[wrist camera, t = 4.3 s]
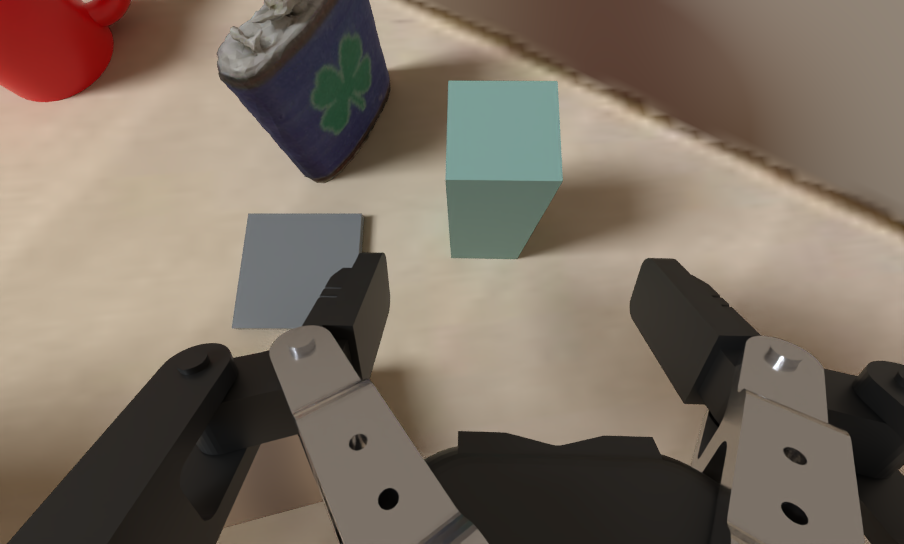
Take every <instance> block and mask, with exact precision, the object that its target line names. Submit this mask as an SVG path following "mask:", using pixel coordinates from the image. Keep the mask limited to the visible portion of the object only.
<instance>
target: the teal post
mask: <svg viewBox="0 0 904 544" xmlns="http://www.w3.org/2000/svg"><path fill="white" fill-rule="evenodd" d="M562 181H563V177H562V158H561V139H560V120H559V102H558V83H557V81H448V111H447V147H446V192H447V206H448V220H449V234H450V247H451V258H485V259H517V258H518V256H519V255H520V253H521V251H522V250H523V248H524V246H525V245H526V243H527V241H528V239H529V238H530V236H531V234H532V233H533V231H534V229H535V227H536V226H537V224H538V222H539V221H540V219H541V217H542V216H543V214H544V212H545V210H546V209H547V207H548V205H549V204H550V202H551V200H552V199H553V197H554V195H555V193H556V192H557V190H558V188H559V187H560V185H561V183H562Z"/></svg>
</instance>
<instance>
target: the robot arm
mask: <svg viewBox="0 0 904 544" xmlns="http://www.w3.org/2000/svg"><path fill="white" fill-rule="evenodd" d="M389 308H390V290H389V281H388V271H387V262H386V256H385V254H384V253H365V252H361V253H359V255H358V257H357V259H356V261H355V263H354V265H353V266H352V268H342V269H340V270H339V271H338V272H336V273H335V274H334V275H332V276H331V277H330V279H329V281H328V282H327V284H326V286H325V289H323V291H322V293H321V294H320V298H318V299H317V301H316V303H315V305H314V306H313V308H312V310H311V311H310V313H309V315H308V316H307V318H306V320H305V321H304V323H303V325H302V326H301V327H297V328H294V329H292V330H289V331H287V332H285V333H284V334H282V335H281V336H279V337H278V338H277V339H276V340H275V341H274V342H273V344H272V345H271V347H270V350H269V351H265V352H261V353H256V354H251V355H246V356H241V357H236V358H233V357H232V355H231V352H230V350H229V349H228V348H227V347H226V346H224V345H222V344H217V343H207V344H201V345H197V346H194V347H191V348H188V349H186V350H184V351H181V352H180V353H178V354H176V355H175V356H173V357H172V358H170V359H169V360H168V361H166V362H165V363H164V364H163V365H162V367H161V368H160V369H159V370H158V371H157V372H156V373H155V375H154V376H153V377H152V378H151V379H150V380H149V381H148V383H147V384H146V385H145V386H144V387H143V388H142V389H141V391H140V392H139V393H138V394H137V395H136V396H135V398H134V399H133V400H132V401H131V402H130V403H129V404H128V406H127V407H126V408H125V409H124V410H123V411H122V412H121V414H120V415H119V416H118V417H117V418H116V419H115V420H114V422H113V423H112V424H111V425H110V426H109V427H108V428H107V430H106V431H105V432H104V433H103V434H102V435H101V437H100V438H99V439H98V440H97V441H96V442H95V443H94V445H93V446H92V447H91V448H90V449H89V450H88V451H87V453H86V454H85V455H84V456H83V457H82V458H81V459H80V461H79V462H78V463H77V464H76V465H75V466H74V467H73V469H72V470H71V471H70V472H69V473H68V474H67V476H66V477H65V478H64V479H63V480H62V481H61V482H60V484H59V485H58V486H57V487H56V488H55V489H54V490H53V492H52V493H51V494H50V495H49V496H48V497H47V498H46V500H45V501H44V502H43V503H42V504H41V505H40V506H39V508H38V509H37V510H36V511H35V512H34V513H33V515H32V516H31V517H30V518H29V519H28V520H27V521H26V523H25V524H24V525H23V526H22V527H21V528H20V529H19V531H18V532H17V533H16V534H15V535H14V536H13V537H12V539H11V540H10V541H9V542H8V543H7V544H216V542H217V540H218V538H219V536H220V534H221V531H222V529H223V527H224V525H225V522H226V520H227V518H228V516H229V514H230V511H231V509H232V507H233V505H234V502H235V500H236V498H237V496H238V494H239V491H240V489H241V487H242V485H243V483H244V480H245V478H246V476H247V474H248V471H249V469H250V467H251V465H252V463H253V460H254V458H255V456H256V454H257V451H258V449H259V447H260V445H261V444H263V443H267V442H270V441H274V440H278V439H282V438H286V437H289V436H293V435H297V434H298V437H299V440H300V442H301V445H302V447H303V450H304V453H305V455H306V458H307V460H308V463H309V465H310V468H311V471H312V473H313V476H314V478H315V481H316V484H317V486H318V489H319V491H320V494H321V497H322V499H323V502H324V505H325V507H326V510H327V513H328V515H329V518H330V521H331V523H332V526H333V529H334V531H335V534H336V537H337V539H338V542H339V544H865V540H864V535H865V536H866V538H867V539H868V540H869V542H870V543H871V544H904V476H903V475H902V474H901V473H900V472H899V471H898V469H900V468H901V467H902V466H903V465H904V365H901V364H898V363H893V362H887V361H874V362H871V363H869V364H868V365H867V366H866V367H865V368H864V370H863V371H862V372H861V373H860V374H859V376H854V375H850V374H845V373H841V372H836V371H832V370H827V369H823V367H822V365H821V363H820V362H819V361H818V360H817V359H816V358H815V357H814V356H813V355H811V354H810V353H809V352H807V351H806V350H804V349H802V348H800V347H799V346H797V345H795V344H792V343H790V342H787V341H785V340H782V339H778V338H774V337H769V336H761V335H760V334H759V333H758V332H757V331H756V330H755V329H754V328H753V327H752V326H751V325H750V324H749V323H748V322H747V321H745V320H744V319H743V318H742V317H741V316H740V315H739V314H738V313H737V312H736V311H735V310H734V309H733V308H732V307H729V304H728V303H727V302H726V301H725V300H724V299H723V298H720V295H719V294H718V293H717V292H716V291H715V290H714V289H713V288H712V287H711V286H710V285H709V284H707V283H705V282H703V281H702V280H700V279H698V278H696V277H695V276H693V275H691V274H690V273H689V272H688V271H687V270H686V269H685V268H684V267H683V266H682V265H681V264H680V263H679V262H678V261H677V260H675V259H665V258H647V259H645V260H644V262H643V263H642V266H641V269H640V272H639V275H638V278H637V281H636V284H635V287H634V290H633V294H632V297H631V300H630V314H631V317H632V319H633V321H634V323H635V325H636V326H637V328H638V329H639V331H640V333H641V334H642V336H643V338H644V339H645V341H646V342H647V344H648V346H649V347H650V349H651V351H652V352H653V354H654V355H655V357H656V359H657V360H658V362H659V364H660V365H661V367H662V369H663V370H664V372H665V373H666V375H667V377H668V378H669V380H670V382H671V383H672V385H673V386H674V388H675V390H676V391H677V393H678V395H679V396H680V398H681V400H682V401H683V403H684V404H705V405H706V406H707V408H708V410H707V412H706V413H705V415H704V417H703V420H702V424H701V428H700V432H699V436H698V439H697V443H696V447H695V451H694V455H693V459H692V463H691V466H689V465H687V464H685V463H682V462H680V461H678V460H675V459H673V458H670V457H667V456H665V455H661V454H660V452H659V450H658V448H657V446H656V444H655V442H654V440H653V437H630V436H601V437H596V438H592V439H588V440H583V441H579V442H575V443H570V444H566V445H561V446H555V445H550V444H546V443H543V442H539V441H535V440H531V439H528V438H524V437H520V436H516V435H512V434H509V433H500V432H467V431H458V446H457V447H453V448H449V449H446V450H443V451H441V452H438V453H436V454H434V455H432V456H430V457H428V458H426V459H425V460H424V459H423V458H422V456H421V455H420V453H419V452H418V450H417V449H416V447H415V446H414V444H413V443H412V441H411V440H410V438H409V437H408V435H407V434H406V432H405V431H404V429H403V428H402V426H401V425H400V423H399V422H398V420H397V419H396V417H395V416H394V414H393V413H392V411H391V410H390V408H389V407H388V405H387V404H386V402H385V401H384V399H383V398H382V396H381V395H380V393H379V392H378V390H377V389H376V387H375V386H374V384H373V383H372V382H371V381H370V380H369V379H370V376H371V372H372V369H373V365H374V362H375V358H376V355H377V351H378V348H379V345H380V341H381V338H382V334H383V331H384V327H385V324H386V320H387V317H388V314H389Z"/></svg>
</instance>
